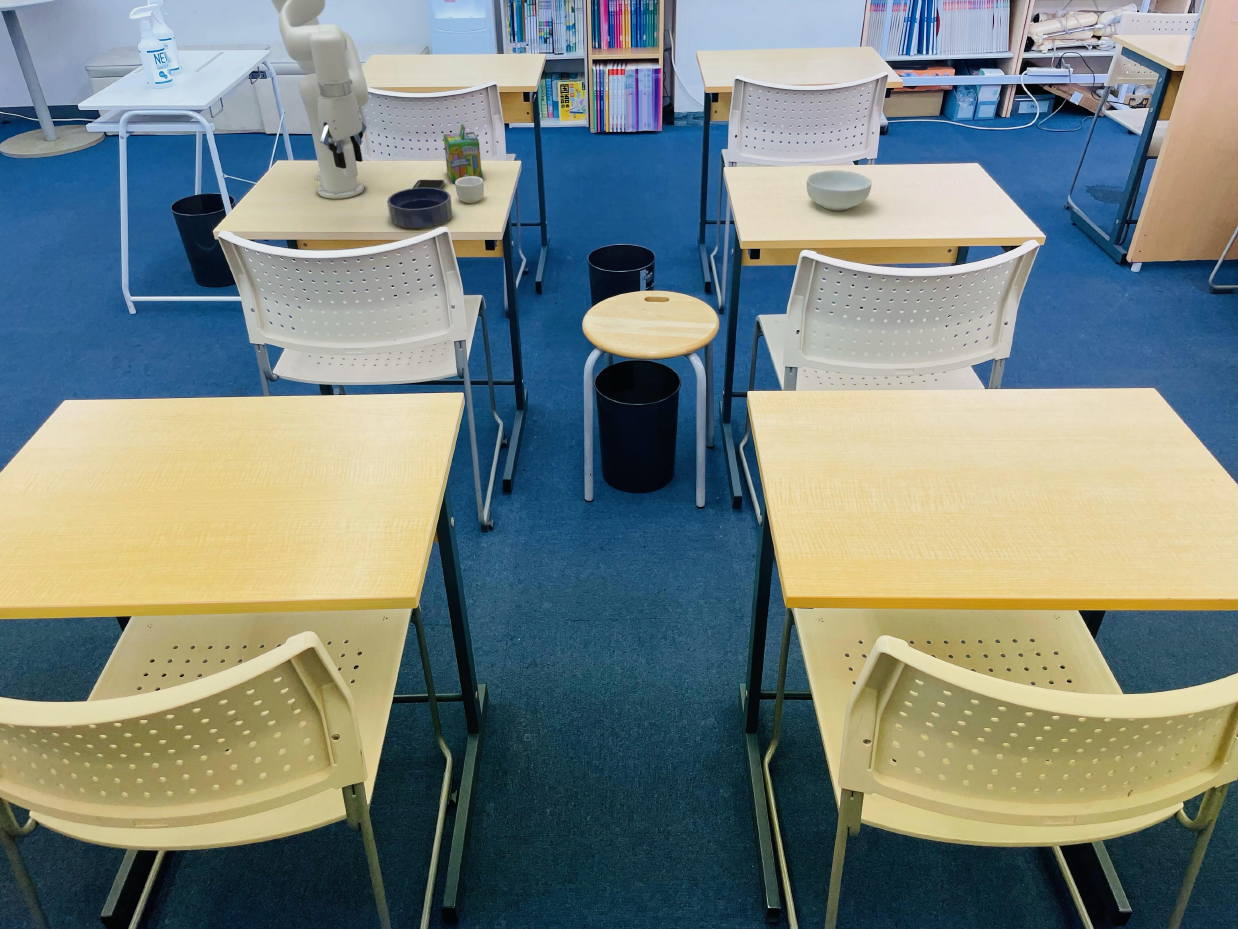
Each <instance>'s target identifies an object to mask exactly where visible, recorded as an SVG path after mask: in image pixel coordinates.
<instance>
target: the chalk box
mask: <svg viewBox="0 0 1238 929" xmlns="http://www.w3.org/2000/svg"><path fill="white" fill-rule="evenodd" d="M479 141H480V140H479V138H478V136H477V135H476V134H475V132H474V131H470V132H469V131H468V132H466V127H465V125H464V124H463V123H461V124H460V130H459V132H458V133H447V134H445V133H444V134H443V143H444V144H443V145H444V156H445V163H446V164H445V165H446V173H447V175H448V177H449V179H450V181H451V183H452V184H455V181H456V180H457V179H459V178H462V177H468V176H475V177H480V178H482V179H483V172H482V160H481V151H480V150H481V148H480V142H479Z"/></svg>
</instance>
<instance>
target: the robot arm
mask: <svg viewBox="0 0 1238 929" xmlns="http://www.w3.org/2000/svg"><path fill="white" fill-rule="evenodd" d="M270 1H271V3H272V4H273V6H274V8H275V10H276V11H277V13H278V14H279V16H278V27H279V33H280V36H281V39H282V42H283V46H284V48H285V50H286V52H287V54H288V56H289V58H290V59H291V60H293V61H295V62H296V63H297V65H298V67H299V69H301V71H303V72H304V73H308V74H306V75H304V76H302V78H300V79H299V82H298V91H299V95H300V99H301V101H302V104H303V107H304V110H305V112H306V115H307V119H308V123H309V127H310V132H311V136H312V139H313V140H312V141H313V145H314V152H315V156H316V159H317V160H316V161H317V165H318V170H319V171H317V173H316V175H314V177H313V179H314V180H315V181H316V182H319V183H320V186H319V187H318V188H317V192H318V195H319V196H321V198H325V199H330V200H331V199H332V200H334V199H338V200H339V199H347V198H352V197H356V196H359V194H361V193H363V191H364V190H365V186H364V184H363V182H361V181H359V180H358V179H357V177H353V178H347V177H346V176H345V175H344V171H343V169H345V168H346V163H345V157H344V153H343V152H341V140H343V139H345V138H348V137H349V138H350V141H351V142H352V144H353V148H354V154H355V159H356V162H359V163H362V162H363V155H362V154H363V153H362V150H361V146H362V144H363V142H362V140H363V137H364V134H365V132H366V130H367V124H365V123H364V121H362V116H361V111H360V108H362V107H365V105H367V103H369V97H370V96H369V90H368V85H367V81H366V78H365V74H364V70H363V68H362V65H361V61H360V57H359V54H358V50H357V48H356V45H355V42H354V40H353V38H352V37H351V35H350V34H348V32H345V31H344V30H343V29H342V28H341V27H340V26H339V25H338V24H335V23H325V24H320V22H319V19H318V18H319V16H320V15H321V14H322V13H323V11H324V10H325V6H326V0H270Z"/></svg>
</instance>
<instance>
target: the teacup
mask: <svg viewBox="0 0 1238 929" xmlns="http://www.w3.org/2000/svg"><path fill="white" fill-rule="evenodd" d="M454 186H455V187H454V188H455V192H456V195H457V197H458V199H459V200H460V201H461V202H463V203H465V204H474V203H478V202H480V201H481V200H482V199H483V196H484V192H485V183H484V179H483V177H482V178H480V177H475V176H468V177H462V178H459V179H457V180H456V181H455V183H454Z"/></svg>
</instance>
